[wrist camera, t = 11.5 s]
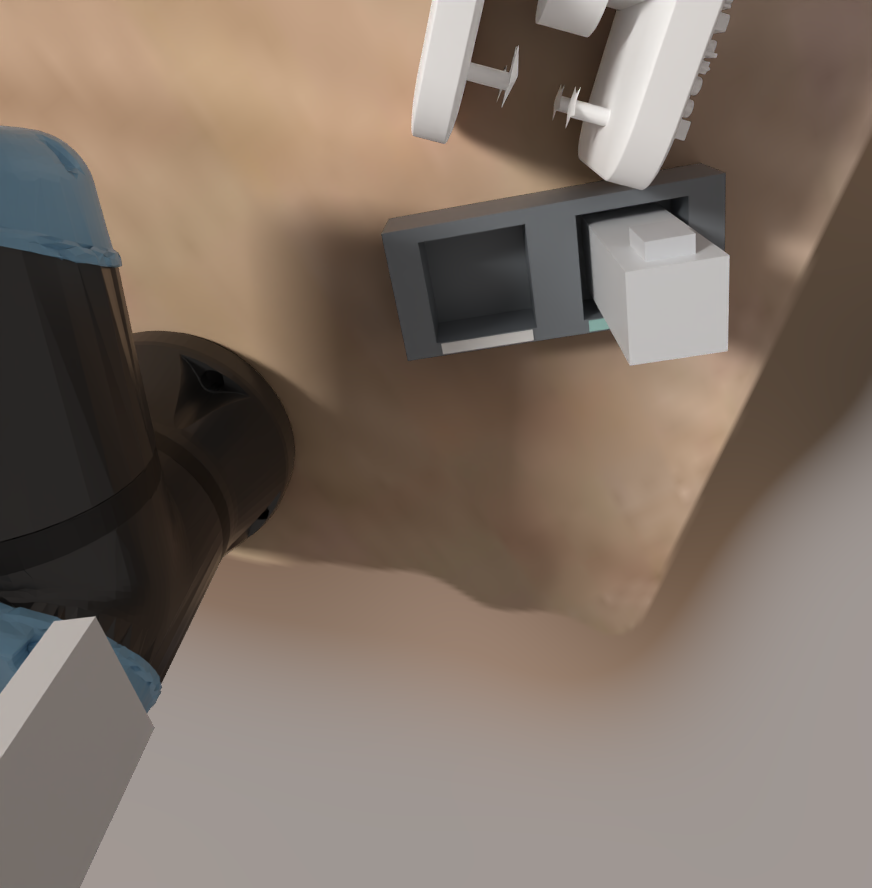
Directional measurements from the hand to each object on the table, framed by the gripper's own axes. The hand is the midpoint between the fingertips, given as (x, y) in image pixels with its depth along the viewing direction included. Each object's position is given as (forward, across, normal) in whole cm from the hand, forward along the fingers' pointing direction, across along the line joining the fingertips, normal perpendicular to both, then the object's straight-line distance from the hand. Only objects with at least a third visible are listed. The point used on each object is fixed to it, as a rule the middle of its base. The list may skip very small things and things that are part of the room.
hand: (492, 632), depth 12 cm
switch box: (+32, +4, -2) cm, 32 cm away
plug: (+31, +8, -2) cm, 32 cm away
